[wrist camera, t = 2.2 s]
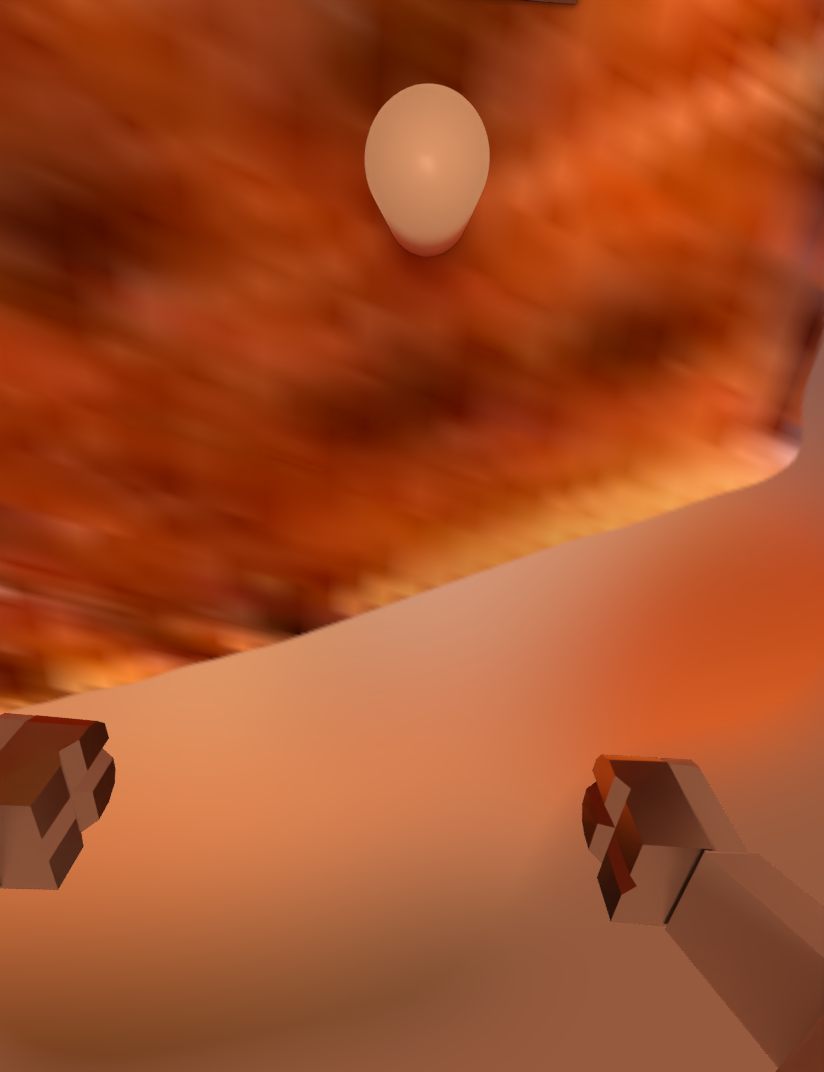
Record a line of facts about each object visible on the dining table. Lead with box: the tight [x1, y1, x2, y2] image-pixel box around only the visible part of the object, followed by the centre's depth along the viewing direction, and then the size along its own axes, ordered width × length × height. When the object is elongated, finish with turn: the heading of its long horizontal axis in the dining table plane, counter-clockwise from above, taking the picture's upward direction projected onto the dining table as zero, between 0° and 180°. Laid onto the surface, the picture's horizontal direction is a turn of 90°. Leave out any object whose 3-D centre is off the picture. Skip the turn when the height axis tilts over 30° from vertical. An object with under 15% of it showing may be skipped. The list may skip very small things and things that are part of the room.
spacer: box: [365, 84, 490, 257], centre depth 27 cm, size 5×5×12 cm
